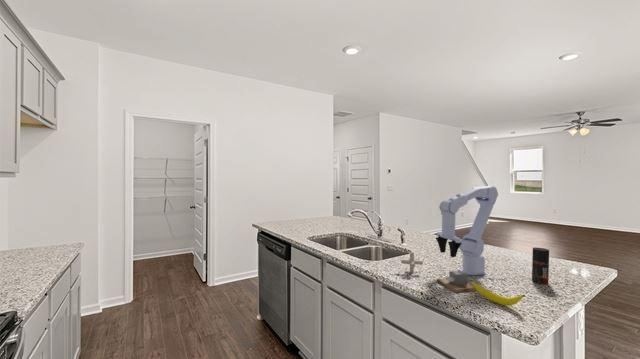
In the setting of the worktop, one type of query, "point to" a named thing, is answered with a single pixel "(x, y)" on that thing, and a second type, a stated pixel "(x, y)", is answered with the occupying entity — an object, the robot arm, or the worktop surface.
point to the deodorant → (540, 266)
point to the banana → (497, 296)
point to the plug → (458, 277)
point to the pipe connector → (412, 262)
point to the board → (457, 286)
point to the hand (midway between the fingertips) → (447, 254)
